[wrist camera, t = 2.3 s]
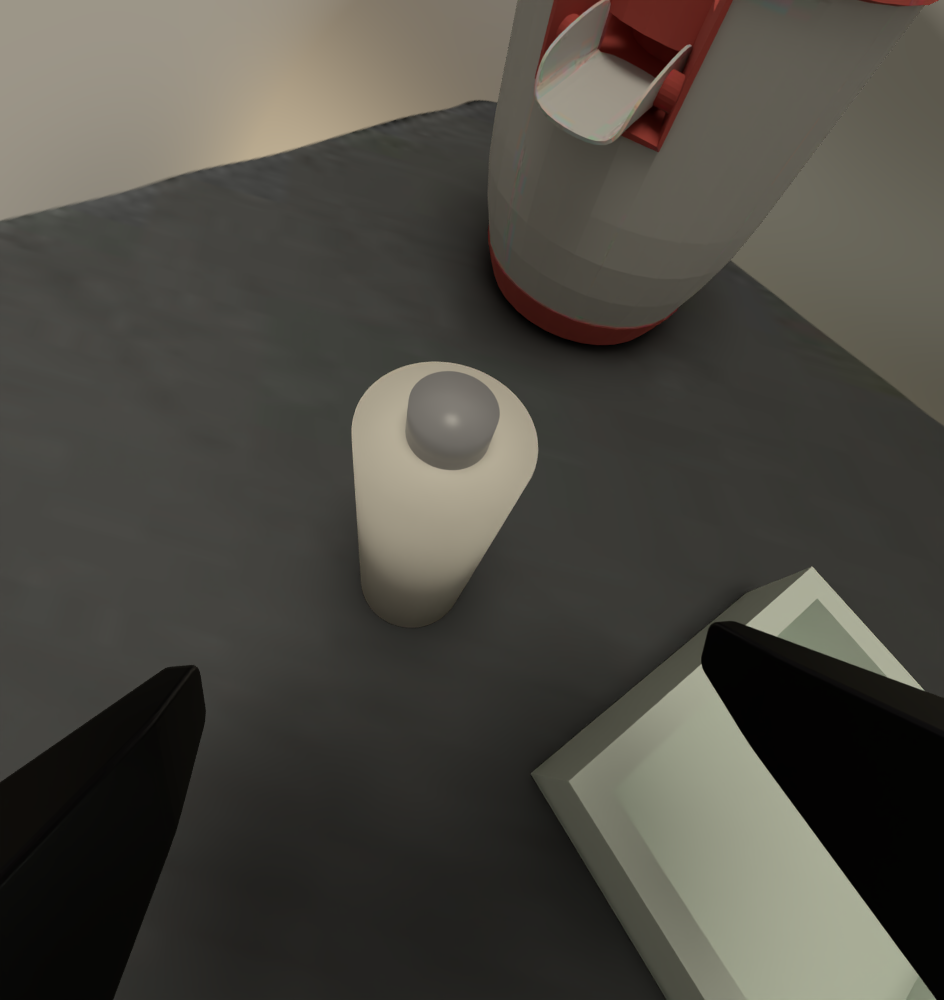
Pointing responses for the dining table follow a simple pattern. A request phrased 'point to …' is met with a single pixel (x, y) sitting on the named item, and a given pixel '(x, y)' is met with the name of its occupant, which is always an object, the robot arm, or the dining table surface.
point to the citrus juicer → (659, 143)
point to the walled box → (724, 829)
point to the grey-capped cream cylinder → (434, 483)
